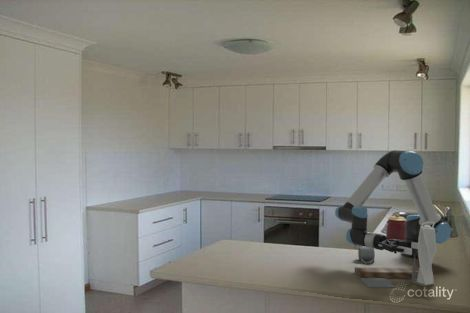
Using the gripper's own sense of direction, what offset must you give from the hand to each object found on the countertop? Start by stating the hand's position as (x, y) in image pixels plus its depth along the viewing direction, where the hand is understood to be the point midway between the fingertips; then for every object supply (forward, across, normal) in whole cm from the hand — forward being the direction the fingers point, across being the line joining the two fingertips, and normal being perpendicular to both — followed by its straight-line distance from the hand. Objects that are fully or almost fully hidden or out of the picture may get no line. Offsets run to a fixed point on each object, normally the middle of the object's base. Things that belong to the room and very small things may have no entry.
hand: (418, 249), depth 207 cm
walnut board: (-13, 0, -15) cm, 20 cm away
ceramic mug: (-34, -14, -15) cm, 40 cm away
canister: (-50, -77, -15) cm, 93 cm away
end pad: (-11, +16, -15) cm, 25 cm away
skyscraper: (+3, -1, -15) cm, 16 cm away
